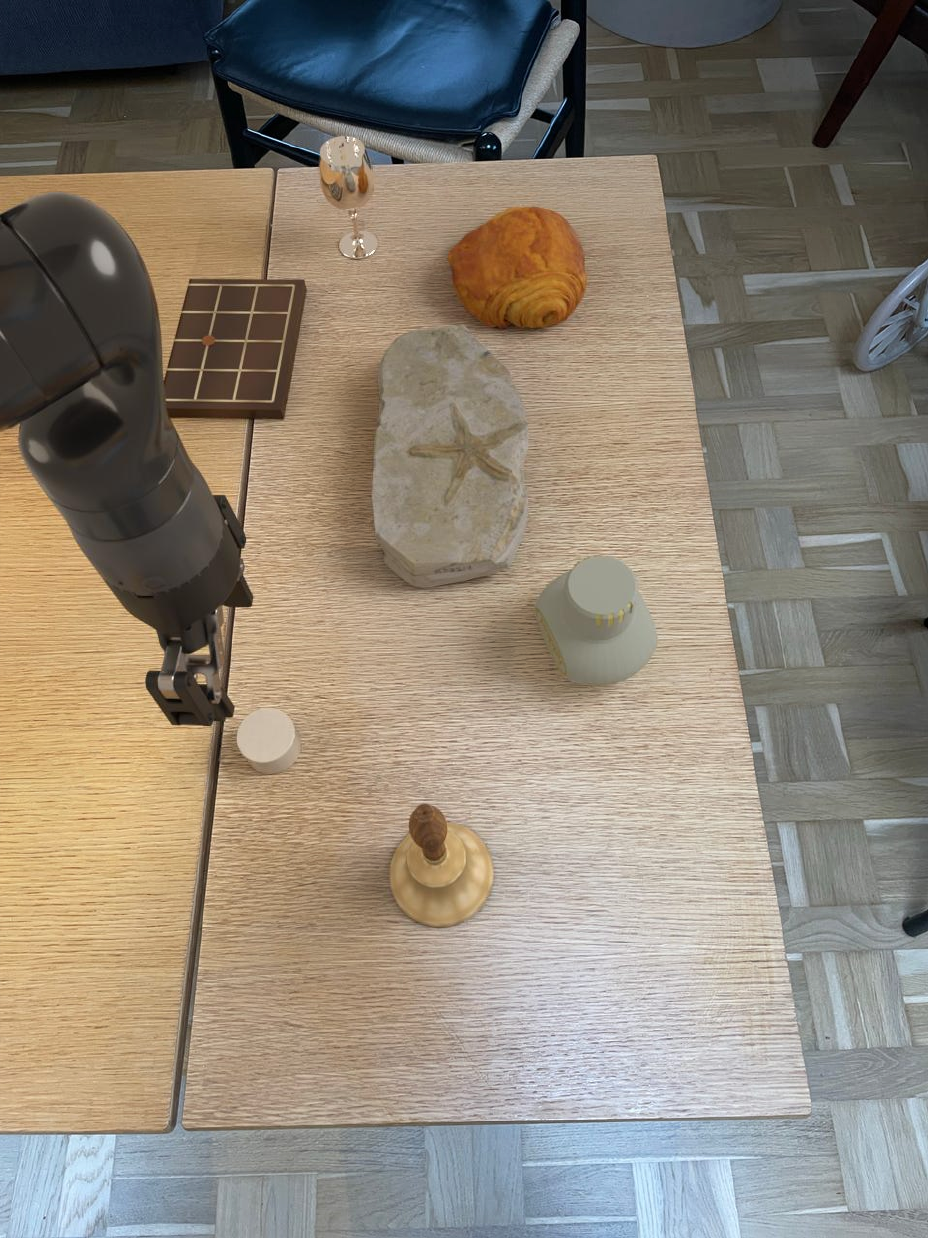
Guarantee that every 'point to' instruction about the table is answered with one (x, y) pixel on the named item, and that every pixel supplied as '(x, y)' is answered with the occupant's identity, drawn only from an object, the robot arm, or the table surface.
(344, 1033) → the table surface
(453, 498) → the fossil stone
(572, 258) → the croissant
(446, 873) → the hand bell
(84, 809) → the table surface
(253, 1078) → the table surface
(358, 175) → the wineglass
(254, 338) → the grid board
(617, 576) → the air freshener
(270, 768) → the white short cylinder
